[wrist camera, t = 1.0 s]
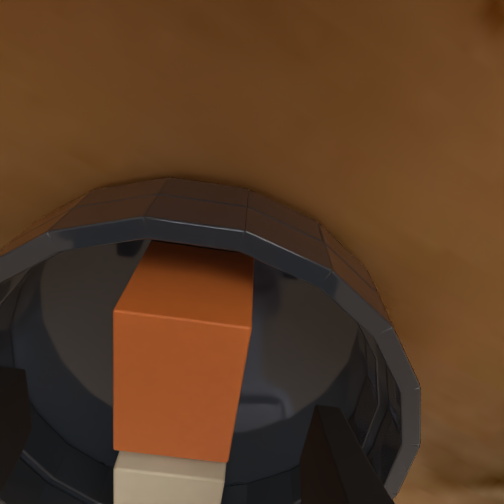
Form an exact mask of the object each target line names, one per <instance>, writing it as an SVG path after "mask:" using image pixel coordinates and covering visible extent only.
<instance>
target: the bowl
mask: <svg viewBox="0 0 504 504" xmlns="http://www.w3.org/2000/svg"><path fill="white" fill-rule="evenodd" d="M151 241H156V242H164V243H171V244H178V245H186V246H193V247H200V248H207V249H215V250H222V251H229V252H236V253H243V254H245V255H248V256H250V257H252V258H254V277H253V307H252V330H251V336H250V342H249V347H248V353H247V359H246V364H245V370H244V376H243V381H242V387H241V392H240V398H239V404H238V409H237V415H236V421H235V426H234V432H233V438H232V443H231V449H230V454H229V460H228V462H227V463H226V472H225V482H224V488H223V494H222V499H221V504H301V489H300V457H301V453H302V450H303V446H304V443H305V439H306V436H307V433H308V429H309V426H310V422H311V419H312V415H313V412H314V408H315V405H324V406H332V407H339V408H340V409H341V410H342V411H343V413H344V415H345V417H346V419H347V421H348V423H349V425H350V427H351V429H352V431H353V433H354V435H355V436H356V438H357V440H358V442H359V444H360V446H361V448H362V449H363V451H364V453H365V455H366V457H367V458H368V460H369V462H370V464H371V465H372V467H373V469H374V471H375V472H376V474H377V476H378V477H379V479H380V481H381V482H382V484H383V486H384V487H385V489H386V490H387V492H388V494H389V495H390V497H391V499H393V498H394V497H395V496H396V495H397V493H399V490H400V488H401V486H402V484H403V482H404V480H405V477H406V475H407V473H408V471H409V469H410V467H411V465H412V462H413V460H414V458H415V456H416V454H417V452H418V449H419V447H420V443H421V387H420V383H419V381H418V379H417V377H416V375H415V372H414V370H413V368H412V366H411V364H410V361H409V359H408V357H407V355H406V353H405V351H404V348H403V346H402V344H401V342H400V340H399V337H398V335H397V333H396V331H395V329H394V326H393V324H392V322H391V320H390V318H389V316H388V313H387V311H386V309H385V307H384V305H383V303H382V301H381V298H380V296H379V294H378V292H377V290H376V288H375V285H374V283H373V281H372V279H371V277H370V275H369V273H368V271H367V270H366V268H365V267H364V266H363V265H362V264H361V263H360V262H359V261H358V260H357V259H356V258H355V257H354V256H353V255H351V254H350V253H349V252H348V251H347V250H346V249H345V248H344V247H343V246H342V245H341V244H340V243H339V242H338V241H337V240H336V239H335V238H334V237H333V236H332V235H331V234H330V233H329V232H328V231H327V230H326V229H325V228H324V227H323V226H322V225H321V224H319V223H317V222H316V221H315V220H313V219H310V218H308V217H306V216H304V215H302V214H300V213H298V212H296V211H294V210H292V209H290V208H287V207H285V206H283V205H281V204H279V203H277V202H275V201H273V200H271V199H269V198H267V197H264V196H262V195H260V194H258V193H256V192H254V191H252V190H248V189H247V188H241V187H234V186H227V185H220V184H213V183H206V182H200V181H193V180H186V179H179V178H172V177H171V178H169V177H167V178H161V179H155V180H148V181H142V182H136V183H130V184H124V185H118V186H112V187H106V188H100V189H95V190H93V191H90V192H88V193H86V194H84V195H83V196H81V197H79V198H77V199H75V200H74V201H72V202H70V203H68V204H66V205H65V206H63V207H61V208H59V209H57V210H55V211H54V212H52V213H50V214H48V215H46V216H45V217H43V218H41V219H39V220H37V221H35V222H34V223H33V224H31V225H30V226H29V227H28V228H26V229H25V230H24V231H23V232H21V233H20V234H19V235H18V236H16V237H15V238H14V239H13V240H12V241H10V242H9V243H8V244H7V245H5V246H4V247H3V248H2V249H0V366H3V367H11V368H19V369H25V372H26V380H27V388H28V396H29V404H30V412H31V420H32V430H31V433H30V435H29V437H28V440H27V442H26V444H25V447H24V449H23V451H22V453H21V455H20V458H19V460H18V462H17V464H16V466H15V468H14V470H13V472H12V474H11V476H10V477H9V479H8V481H7V482H6V484H5V486H4V488H3V489H2V491H1V493H0V504H114V493H113V468H114V465H115V462H116V460H117V457H118V454H119V451H118V450H114V449H113V310H114V308H115V306H116V304H117V303H118V301H119V299H120V297H121V295H122V293H123V291H124V290H125V288H126V286H127V284H128V282H129V280H130V279H131V277H132V275H133V273H134V271H135V269H136V268H137V266H138V264H139V262H140V260H141V258H142V256H143V255H144V253H145V251H146V249H147V247H148V245H149V244H150V242H151Z"/></svg>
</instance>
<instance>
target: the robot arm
mask: <svg viewBox="0 0 504 504" xmlns="http://www.w3.org/2000/svg"><path fill="white" fill-rule="evenodd" d="M31 430H32V420H31V412H30V404H29V396H28V388H27V380H26V372H25V369H19V368H11V367H3V366H0V493H1V491H2V489H3V488H4V486H5V484H6V482H7V481H8V479H9V477H10V476H11V474H12V472H13V470H14V468H15V466H16V464H17V462H18V460H19V458H20V455H21V453H22V451H23V449H24V447H25V444H26V442H27V440H28V437H29V435H30V433H31ZM300 489H301V504H395V503H394V502H393V500H392V499H391V497H390V495H389V494H388V492H387V490H386V489H385V487H384V486H383V484H382V482H381V481H380V479H379V477H378V476H377V474H376V472H375V471H374V469H373V467H372V465H371V464H370V462H369V460H368V458H367V457H366V455H365V453H364V451H363V449H362V448H361V446H360V444H359V442H358V440H357V438H356V436H355V435H354V433H353V431H352V429H351V427H350V425H349V423H348V421H347V419H346V417H345V415H344V413H343V411H342V410H341V409H340V408H339V407H332V406H324V405H315V408H314V412H313V415H312V419H311V422H310V426H309V429H308V433H307V436H306V439H305V443H304V446H303V450H302V453H301V457H300Z"/></svg>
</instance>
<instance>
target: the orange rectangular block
mask: <svg viewBox="0 0 504 504" xmlns="http://www.w3.org/2000/svg"><path fill="white" fill-rule="evenodd" d="M253 277H254V258H252V257H250V256H248V255H245V254H243V253H236V252H229V251H222V250H215V249H207V248H200V247H193V246H186V245H178V244H171V243H164V242H156V241H151V242H150V244H149V245H148V247H147V249H146V251H145V253H144V255H143V256H142V258H141V260H140V262H139V264H138V266H137V268H136V269H135V271H134V273H133V275H132V277H131V279H130V280H129V282H128V284H127V286H126V288H125V290H124V291H123V293H122V295H121V297H120V299H119V301H118V303H117V304H116V306H115V308H114V310H113V449H114V450H118V451H127V452H135V453H144V454H153V455H162V456H170V457H179V458H188V459H197V460H205V461H214V462H223V463H227V462H228V460H229V454H230V449H231V443H232V438H233V432H234V426H235V421H236V415H237V409H238V404H239V398H240V392H241V387H242V381H243V376H244V370H245V364H246V359H247V353H248V347H249V342H250V336H251V330H252V307H253Z"/></svg>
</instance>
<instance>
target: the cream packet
mask: <svg viewBox="0 0 504 504" xmlns="http://www.w3.org/2000/svg"><path fill="white" fill-rule="evenodd" d="M225 472H226V463H223V462H214V461H205V460H197V459H188V458H179V457H170V456H162V455H153V454H144V453H135V452H127V451H119V454H118V457H117V460H116V462H115V465H114V468H113V493H114V504H221V499H222V494H223V488H224V482H225Z"/></svg>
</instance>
